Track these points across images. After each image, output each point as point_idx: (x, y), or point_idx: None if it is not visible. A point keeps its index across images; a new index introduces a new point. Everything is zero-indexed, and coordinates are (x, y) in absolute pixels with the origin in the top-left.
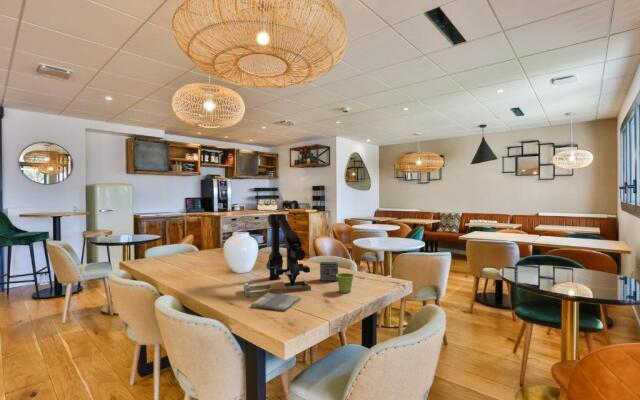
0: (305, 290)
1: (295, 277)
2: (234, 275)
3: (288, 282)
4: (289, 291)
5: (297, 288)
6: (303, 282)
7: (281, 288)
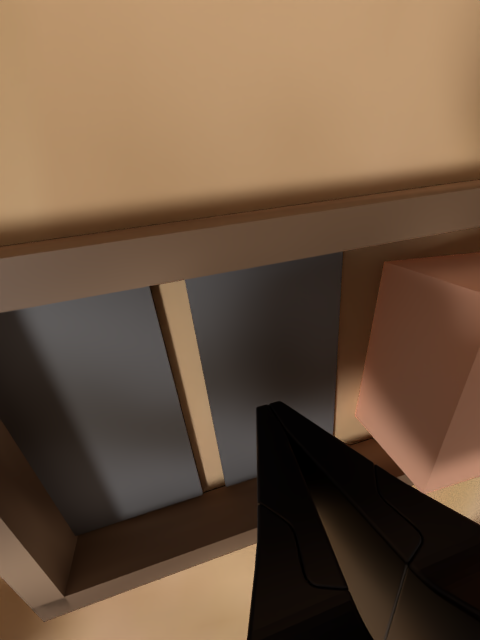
0: (8, 246)
1: (285, 598)
2: None
3: None
4: (345, 200)
5: (198, 228)
6: (72, 572)
7: (478, 269)
